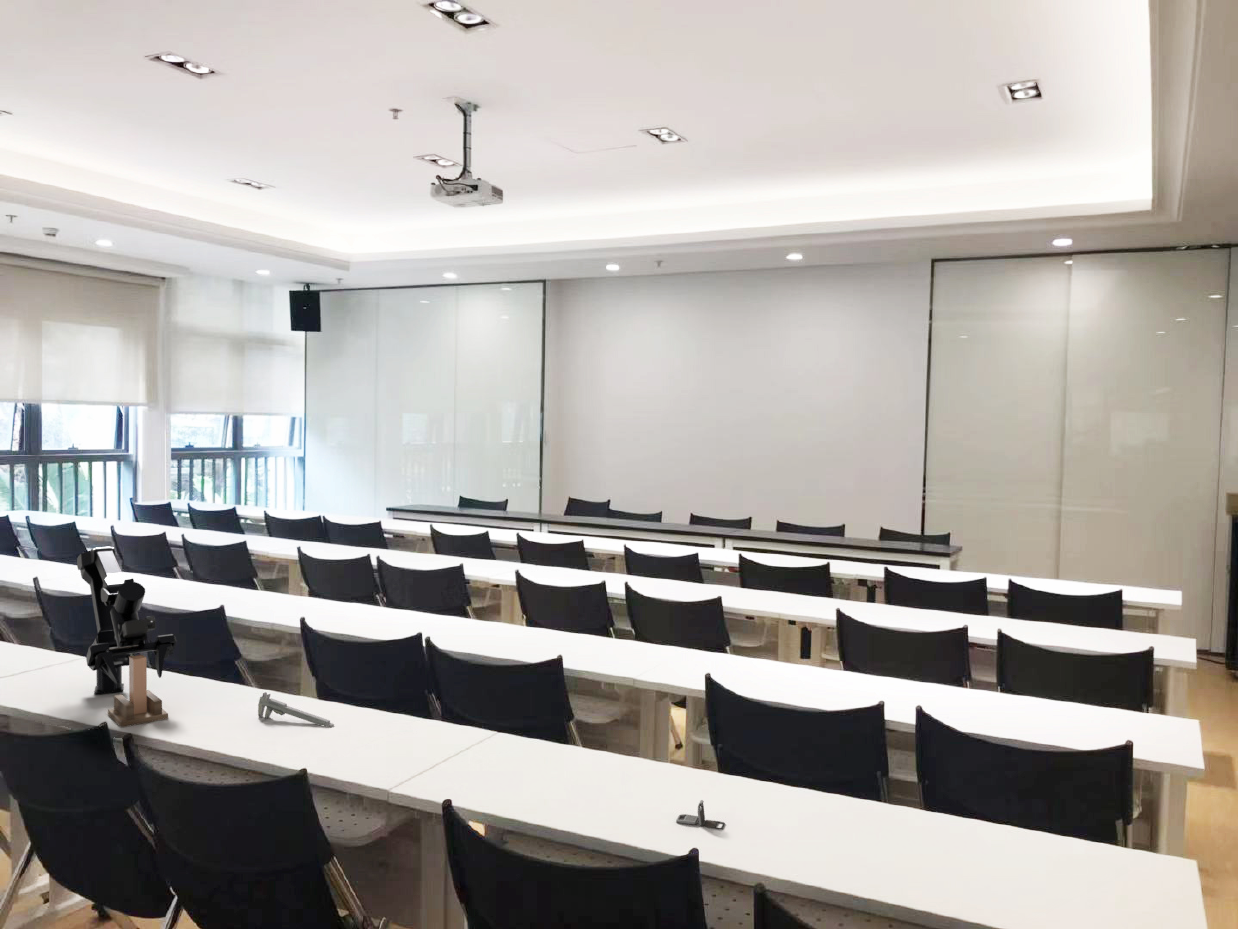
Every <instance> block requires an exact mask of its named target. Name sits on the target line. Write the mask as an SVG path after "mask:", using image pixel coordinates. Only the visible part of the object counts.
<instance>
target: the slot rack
mask: <svg viewBox="0 0 1238 929" xmlns="http://www.w3.org/2000/svg"><path fill="white" fill-rule="evenodd" d="M113 699H114V700H113V708H109V709H107V715H108V716H109V717H110V718H111V719H112V720H113V721H114V722H116V724H117V725H118V724H119V725H120V726H121V727H120V726H119V725H118V726H119V727H120V728H125V727H129V726H130V725H131V726H135V725H134V724H136V725H141V724H145V723H152V722H157V721H164V720H168V719H169V713H168V712H167V711H166V710H165V709H163V700H162V699H161V698H160V697H158V696H157V695H156V694H155V693H153V692H152V691H151V690H149V689H148V690H147V712H145V713H139V714H134V705H133V704H132V703H131V702H130V701H129V699H127V698H126V697H125V695H123V694H116V695H113ZM131 726H130V727H131Z"/></svg>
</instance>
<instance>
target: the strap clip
mask: <svg viewBox="0 0 1238 929" xmlns="http://www.w3.org/2000/svg"><path fill="white" fill-rule="evenodd" d="M704 806H705V805H704V800H703V799H701V800H700V801H699V803H698V805H697V815H692V814H687V813H685V814H684V813H683V814H679V815H678V816H677V818H676V821H675V822H676V824H678V825H682V826H683V825H684V826H690V827H696V826H698V825H699V826H700V827H702V828H705V829H710V830H719V831H722V830H724V827H725V825H726V823H725V822H723V821H718V820H710V819H706V817H705V816H706V815H705V807H704ZM719 824H720V825H722V826H721V827H718V825H719Z"/></svg>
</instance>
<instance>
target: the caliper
mask: <svg viewBox="0 0 1238 929" xmlns="http://www.w3.org/2000/svg"><path fill="white" fill-rule="evenodd" d="M270 697H271V693H269V694H268V693H267V692H266V691H265V692H263V693H262V696H260V697H259V700H258V705H257V706H258V707H257V713H258V714H257V715H258V718H262V717H263V716H264V719H269V718H270V717H271V715H272V713H273V712H274V713H275V714H277V715H278V714H279V715H280V716H284V715H285V714H286V715H290V716H292V717H294V718H298V719H300V720H303V721H307V722H309V723H312V724H315V725H317V724H319V725H318V726H320V725H324V726H323V727H326V726H327V727H330V728H333V727H334V725H335V724H334V723H332V722H331V720H329V719H327V718H324V717H320V716H317V715H315V714H312V713H309V712H307V711H303V710H300V709H298V708H294V707H292V706H289V705H288V704H287V703H286V702H283V701H279V700H277V699H275V698H270ZM265 708H266V709H265ZM264 711H265V714H264ZM268 717H269V718H268Z"/></svg>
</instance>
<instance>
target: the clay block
mask: <svg viewBox="0 0 1238 929" xmlns="http://www.w3.org/2000/svg"><path fill="white" fill-rule="evenodd" d="M147 661H148V660H147V657H146V656H145V655H143V654H138V655H132V656H130V657H129V666H128V670H129V671H128V676H129V678H128V679H129V680H128V681H129V682H128V683H129V684H128V685H129V689H128V693H129V695H128V696H129V697H128V698H129V699H128V701H130V702H131V703H132V704H133V705H134V714H139V713H145V712H147V683H148V682H147V680H148V679H147V671H148V670H147Z"/></svg>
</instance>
